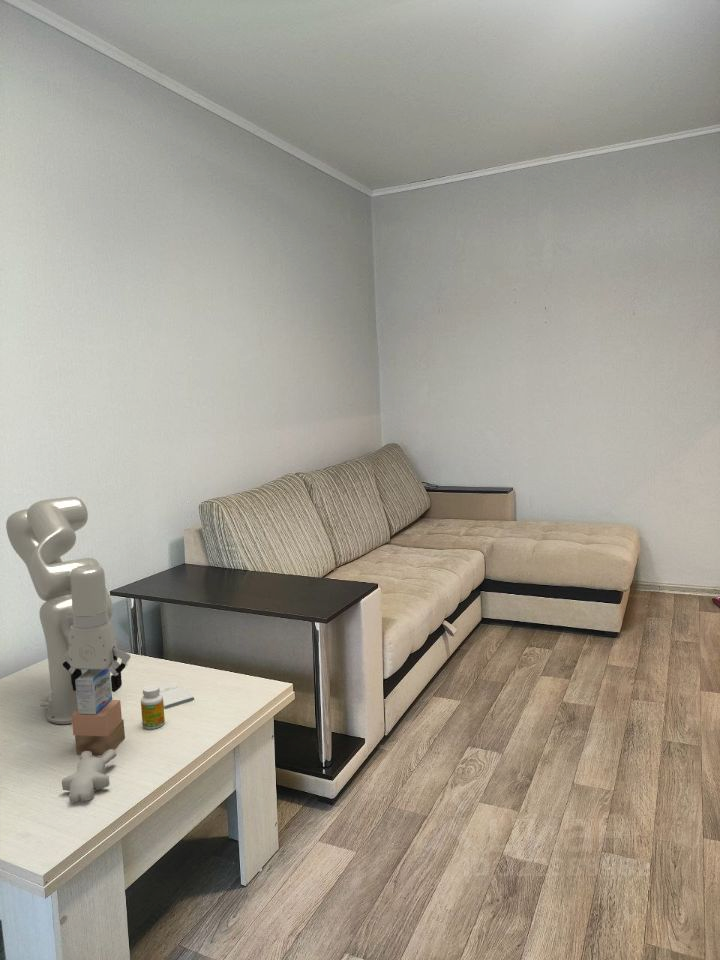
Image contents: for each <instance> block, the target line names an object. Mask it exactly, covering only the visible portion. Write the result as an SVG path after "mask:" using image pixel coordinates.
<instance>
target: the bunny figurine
mask: <svg viewBox="0 0 720 960" xmlns="http://www.w3.org/2000/svg"><path fill="white" fill-rule="evenodd" d="M116 756H117V752H116V751H115V750H113V749H109V750H107V751H106V752H104V753H103V755H102V756H100V757H98V756H97V757H96V756H93V755H92V753H91V752H90V751H84V752H82V754H81V755H80V757H79V760H78V762H77V766H76V772H74V773H72V774H71V775H68V776H66V777H63V778H62V779H61V788H62V790H63V791H67V792H69V794H68V799H69V802H70V803H74V802H79V801H81V802H88V801H90V800H93V799H94V798H95V791H98V790H102V789H104V788H107V787H109V786H110V783H111V782H110V776H109V775H107V774H106V765H107V764H108V763H109V762H111V761H112V760H114V759H115V758H116Z"/></svg>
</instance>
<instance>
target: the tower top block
mask: <svg viewBox="0 0 720 960" xmlns="http://www.w3.org/2000/svg"><path fill="white" fill-rule="evenodd" d="M121 704H122V703H121V699H112V700H111V701H110V702H109V703H108V704H106V705H105V706H104V707H103V708H102V709H101V710H100V711H99V712H98V713H97V714H96V715H95V714H79V712H78V709H77V710H76V711H75V712H74V713H73V714H72V715H71V716H72V723H71V725H72V734H73V735H72V736H75V735H81V736H107V735H108V734H109V733H110V732H111V731H112V730H113V728H114V727H115V726H116V725H117V724H118V723H119V722H120V721H121V720H122V719H123V718H122V717H123V716H122V715H123V714H122V705H121Z"/></svg>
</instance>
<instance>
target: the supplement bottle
mask: <svg viewBox="0 0 720 960" xmlns="http://www.w3.org/2000/svg"><path fill="white" fill-rule="evenodd" d="M159 687H160V685H159V684H148V685H145V686H144V687H143V688H142V694H143V696H142V697H141V698H140V708H141V709H140V710H141V721H142V722H141V723H142V727H143V728H144V729H147V730H155V729H159V728H161V727H163V725H165V722H166V720H165V719H166V718H165V709H164V704H163V696H162V694H160V688H159Z"/></svg>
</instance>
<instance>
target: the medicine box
mask: <svg viewBox="0 0 720 960" xmlns="http://www.w3.org/2000/svg"><path fill="white" fill-rule="evenodd" d="M75 683H76V693H77V703H78V712H79V714H95V715H96V714H97V713H98V712H99V711H100V710H101V709H102V708H103V707H104V706H105V705H106V704H108V703H109V702H110V701H111V700H113V692H112V687H111V672H110V671H109V670H108V669H105V670H92V669H89V670H87V671H86V672H85V673H83V674H82V675H81V676H80V677H78V678H77V679H76V680H75Z"/></svg>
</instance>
